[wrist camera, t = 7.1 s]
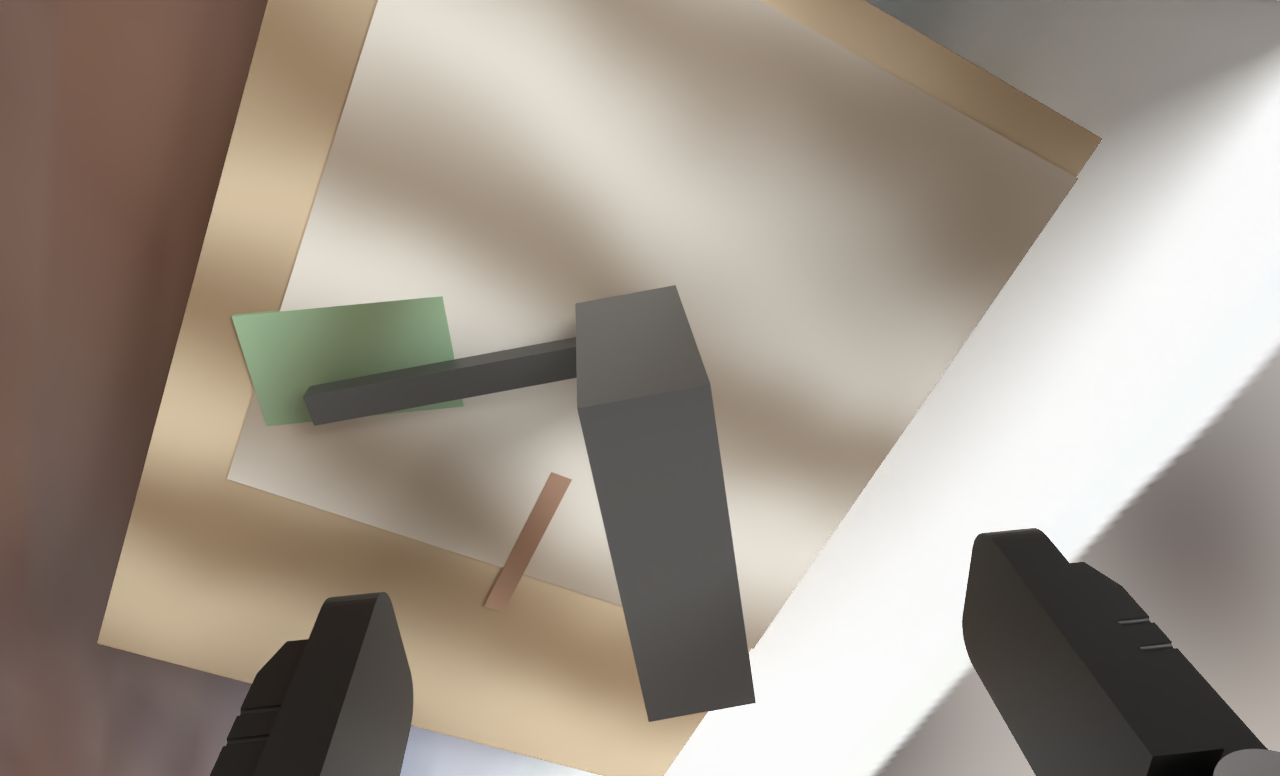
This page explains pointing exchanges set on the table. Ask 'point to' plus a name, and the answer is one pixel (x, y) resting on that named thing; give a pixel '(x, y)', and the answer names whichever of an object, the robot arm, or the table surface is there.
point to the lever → (624, 479)
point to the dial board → (559, 323)
